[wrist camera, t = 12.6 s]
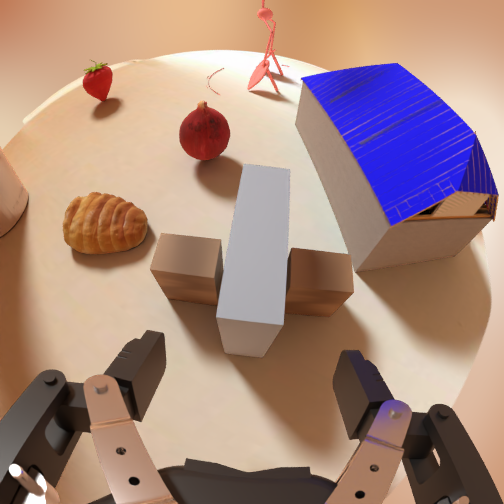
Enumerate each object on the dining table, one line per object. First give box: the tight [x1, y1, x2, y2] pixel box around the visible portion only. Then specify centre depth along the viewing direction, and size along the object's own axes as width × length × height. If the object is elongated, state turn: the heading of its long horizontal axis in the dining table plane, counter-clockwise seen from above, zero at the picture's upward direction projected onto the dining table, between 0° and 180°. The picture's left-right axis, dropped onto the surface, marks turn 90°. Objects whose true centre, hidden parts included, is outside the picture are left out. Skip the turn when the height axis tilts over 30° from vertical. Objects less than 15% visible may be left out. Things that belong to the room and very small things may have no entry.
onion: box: [179, 101, 230, 160], centre depth 28 cm, size 6×6×8 cm
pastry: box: [63, 192, 147, 254], centre depth 24 cm, size 9×7×4 cm
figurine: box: [206, 0, 289, 95], centre depth 31 cm, size 15×26×35 cm, turn 169°
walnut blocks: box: [150, 233, 354, 317], centre depth 21 cm, size 14×3×6 cm, turn 84°
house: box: [295, 63, 499, 272], centre depth 25 cm, size 25×16×16 cm, turn 8°
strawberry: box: [83, 63, 112, 101], centre depth 37 cm, size 6×8×10 cm
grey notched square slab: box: [216, 164, 290, 358], centre depth 19 cm, size 10×3×10 cm, turn 174°
